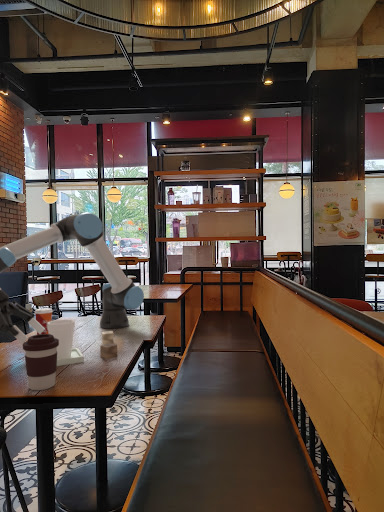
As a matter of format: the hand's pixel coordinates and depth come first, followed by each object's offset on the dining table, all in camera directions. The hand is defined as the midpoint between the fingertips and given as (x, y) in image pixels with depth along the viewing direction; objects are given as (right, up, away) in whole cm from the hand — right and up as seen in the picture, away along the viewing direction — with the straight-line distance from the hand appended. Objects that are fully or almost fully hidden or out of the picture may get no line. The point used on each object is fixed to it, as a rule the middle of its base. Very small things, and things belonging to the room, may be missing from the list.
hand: (34, 336), depth 132 cm
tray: (+11, -9, -1) cm, 14 cm away
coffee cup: (+14, -9, -26) cm, 31 cm away
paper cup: (-9, -9, +30) cm, 32 cm away
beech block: (+22, -8, +23) cm, 33 cm away
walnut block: (+27, -9, +2) cm, 29 cm away
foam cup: (+11, -8, -1) cm, 13 cm away
